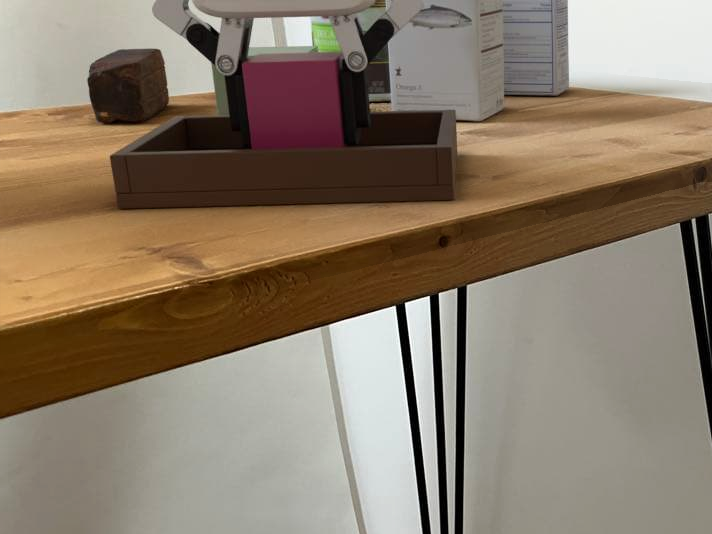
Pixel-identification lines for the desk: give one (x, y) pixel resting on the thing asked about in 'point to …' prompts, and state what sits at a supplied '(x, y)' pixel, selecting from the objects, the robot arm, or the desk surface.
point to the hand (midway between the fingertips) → (303, 139)
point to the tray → (288, 165)
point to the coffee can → (377, 67)
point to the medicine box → (535, 47)
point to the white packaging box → (450, 59)
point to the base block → (253, 51)
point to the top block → (294, 100)
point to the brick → (128, 85)
